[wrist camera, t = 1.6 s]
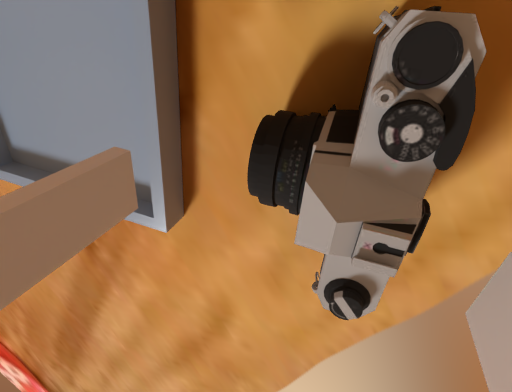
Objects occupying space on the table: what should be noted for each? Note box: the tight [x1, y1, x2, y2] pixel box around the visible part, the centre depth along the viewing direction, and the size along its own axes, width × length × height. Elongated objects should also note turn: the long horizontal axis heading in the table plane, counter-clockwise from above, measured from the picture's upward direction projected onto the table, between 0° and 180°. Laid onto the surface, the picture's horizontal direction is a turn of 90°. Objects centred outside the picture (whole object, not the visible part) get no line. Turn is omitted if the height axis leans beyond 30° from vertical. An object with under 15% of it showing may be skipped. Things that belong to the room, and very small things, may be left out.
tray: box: [0, 0, 184, 233], centre depth 20 cm, size 18×18×2 cm
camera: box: [248, 6, 486, 320], centre depth 14 cm, size 13×8×9 cm, turn 0°
